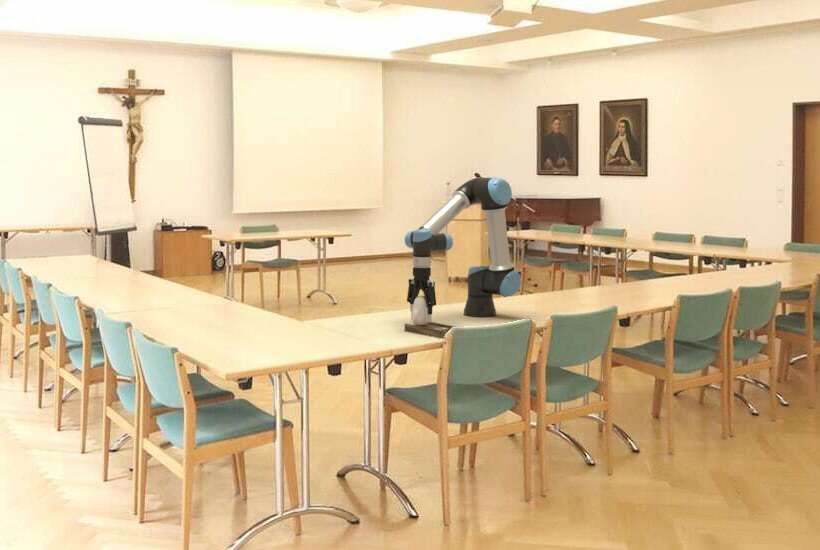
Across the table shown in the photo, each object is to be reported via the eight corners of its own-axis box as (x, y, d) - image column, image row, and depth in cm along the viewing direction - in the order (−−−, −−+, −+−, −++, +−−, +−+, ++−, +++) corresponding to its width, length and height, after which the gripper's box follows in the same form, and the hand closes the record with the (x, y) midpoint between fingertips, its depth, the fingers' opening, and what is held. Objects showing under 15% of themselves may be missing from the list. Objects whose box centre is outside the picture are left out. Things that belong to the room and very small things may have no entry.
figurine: (414, 325, 370) (415, 296, 369) (410, 322, 378) (410, 294, 376) (431, 324, 372) (431, 296, 371) (426, 321, 379) (426, 293, 378)
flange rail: (424, 327, 382) (424, 319, 381) (461, 335, 366) (461, 326, 365) (404, 330, 374) (404, 322, 374) (441, 338, 358) (441, 329, 357)
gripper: (398, 265, 377) (397, 318, 380) (432, 269, 362) (432, 324, 364) (411, 264, 382) (410, 316, 385) (445, 268, 367) (445, 323, 369)
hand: (421, 320), depth 375 cm, fingers closed on figurine, 8 cm apart
